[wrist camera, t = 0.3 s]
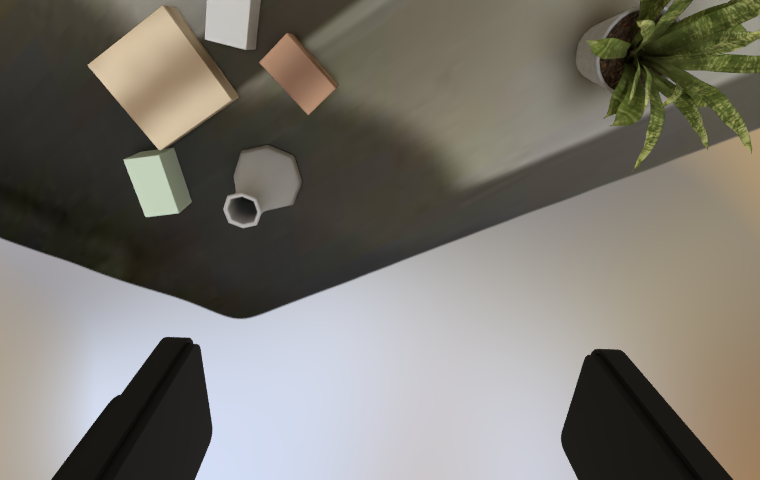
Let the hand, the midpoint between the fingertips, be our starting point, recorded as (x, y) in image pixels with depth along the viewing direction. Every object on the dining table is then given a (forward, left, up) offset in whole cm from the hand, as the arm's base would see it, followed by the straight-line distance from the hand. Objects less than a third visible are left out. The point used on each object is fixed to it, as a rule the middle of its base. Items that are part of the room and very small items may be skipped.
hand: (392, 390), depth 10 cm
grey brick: (-14, -8, -36) cm, 39 cm away
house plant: (+3, +22, -36) cm, 42 cm away
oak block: (-11, -17, -36) cm, 41 cm away
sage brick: (-3, -23, -36) cm, 43 cm away
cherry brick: (-8, -5, -36) cm, 37 cm away
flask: (+1, -13, -36) cm, 38 cm away
